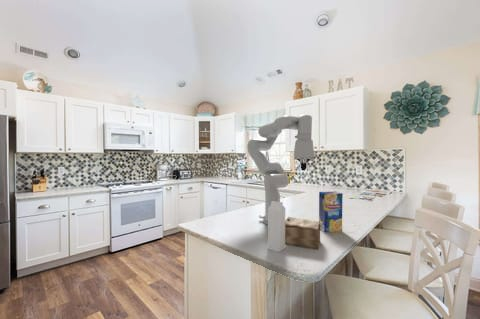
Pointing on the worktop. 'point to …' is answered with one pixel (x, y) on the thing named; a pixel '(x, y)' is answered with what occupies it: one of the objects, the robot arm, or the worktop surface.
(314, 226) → the lid
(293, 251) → the worktop surface
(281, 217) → the milk
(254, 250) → the worktop surface
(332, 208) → the beverage box
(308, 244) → the crate
